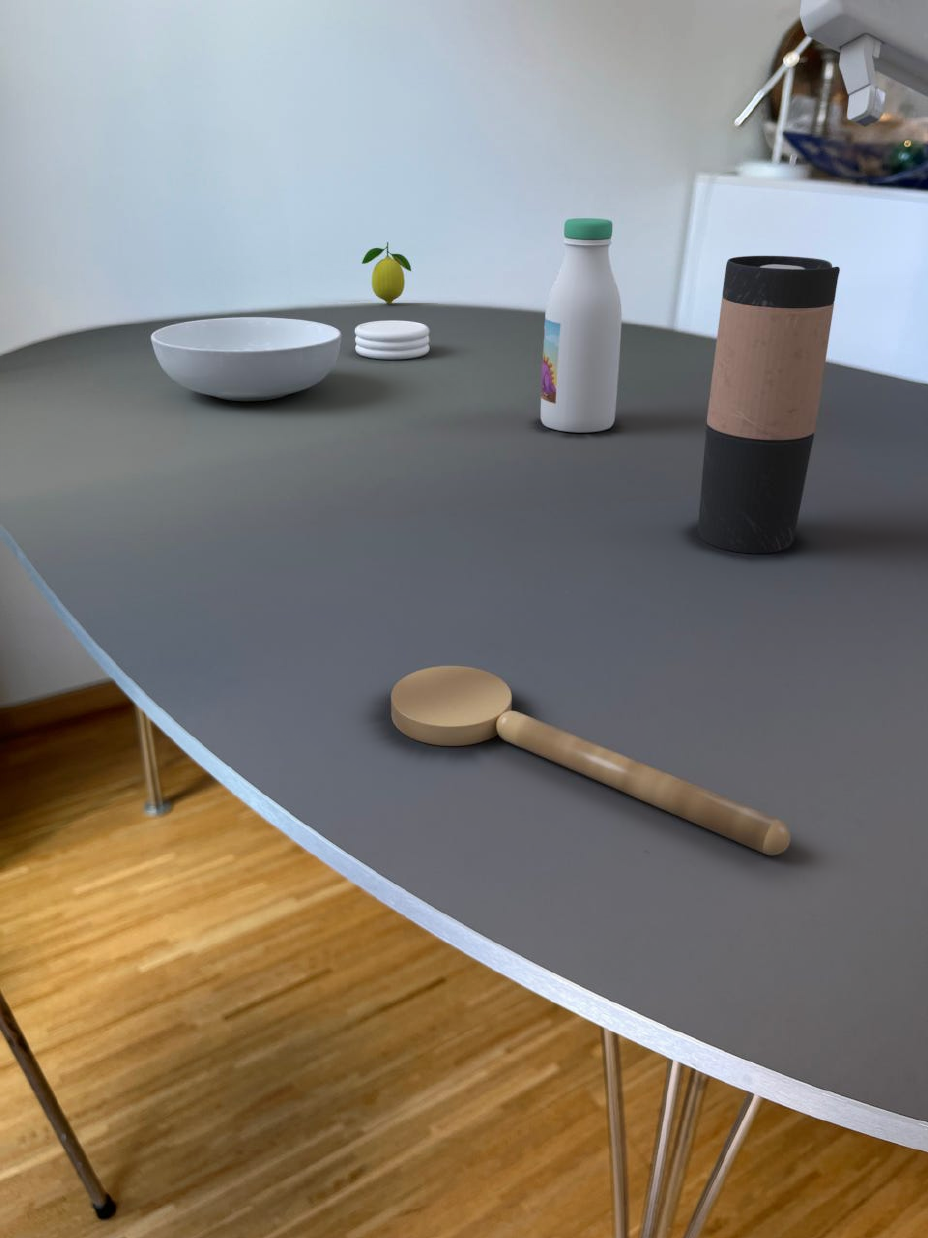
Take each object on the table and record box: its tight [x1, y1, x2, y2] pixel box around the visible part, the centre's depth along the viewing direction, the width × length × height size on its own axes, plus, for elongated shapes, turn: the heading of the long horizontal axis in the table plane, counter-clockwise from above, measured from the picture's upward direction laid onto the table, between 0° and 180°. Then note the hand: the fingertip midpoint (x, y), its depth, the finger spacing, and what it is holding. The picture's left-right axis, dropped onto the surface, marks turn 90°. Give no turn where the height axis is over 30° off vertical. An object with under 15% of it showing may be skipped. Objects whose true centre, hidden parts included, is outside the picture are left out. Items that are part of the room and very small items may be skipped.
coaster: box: [354, 320, 430, 361], centre depth 139 cm, size 10×10×4 cm
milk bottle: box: [540, 217, 623, 433], centre depth 103 cm, size 8×8×20 cm
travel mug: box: [697, 255, 841, 554], centre depth 75 cm, size 8×8×20 cm
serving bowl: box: [150, 316, 343, 402], centre depth 117 cm, size 21×21×7 cm
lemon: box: [361, 241, 412, 305], centre depth 173 cm, size 7×6×10 cm
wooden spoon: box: [390, 665, 792, 856], centre depth 50 cm, size 22×6×2 cm, turn 51°
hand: (912, 143), depth 71 cm, fingers open, 8 cm apart
